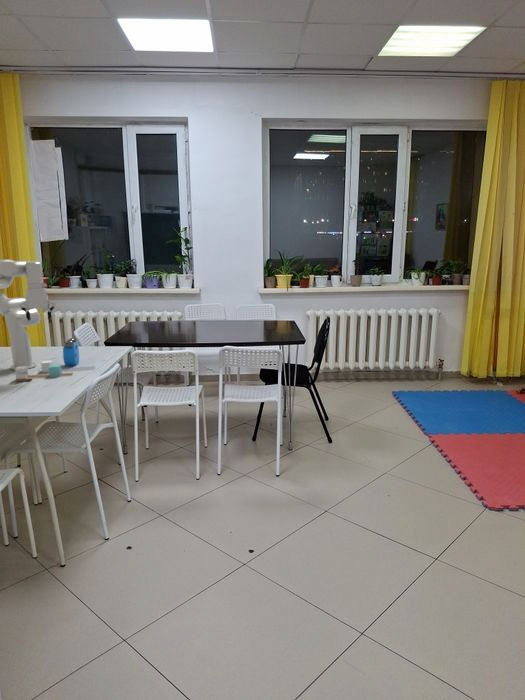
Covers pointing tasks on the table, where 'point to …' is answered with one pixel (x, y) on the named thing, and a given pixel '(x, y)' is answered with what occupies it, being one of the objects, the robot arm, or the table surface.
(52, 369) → the teal cube
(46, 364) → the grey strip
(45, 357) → the table surface
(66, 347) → the alarm clock
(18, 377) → the walnut strip
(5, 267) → the robot arm
